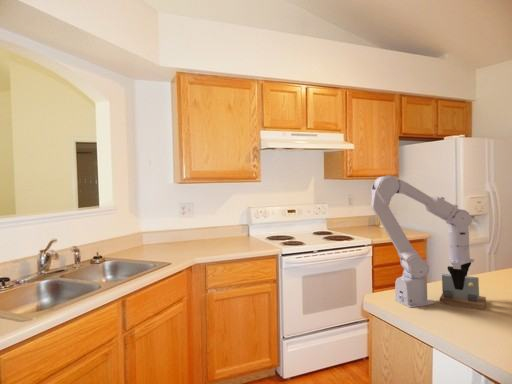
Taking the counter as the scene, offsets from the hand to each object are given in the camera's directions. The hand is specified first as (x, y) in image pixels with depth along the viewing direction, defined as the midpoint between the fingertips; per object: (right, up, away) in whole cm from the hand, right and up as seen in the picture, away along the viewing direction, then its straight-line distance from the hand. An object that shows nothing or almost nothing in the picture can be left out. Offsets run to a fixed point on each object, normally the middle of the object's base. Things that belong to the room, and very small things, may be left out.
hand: (460, 286), depth 104 cm
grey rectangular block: (0, -4, 0) cm, 4 cm away
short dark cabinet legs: (0, -4, 0) cm, 4 cm away
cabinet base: (0, -5, 0) cm, 5 cm away
